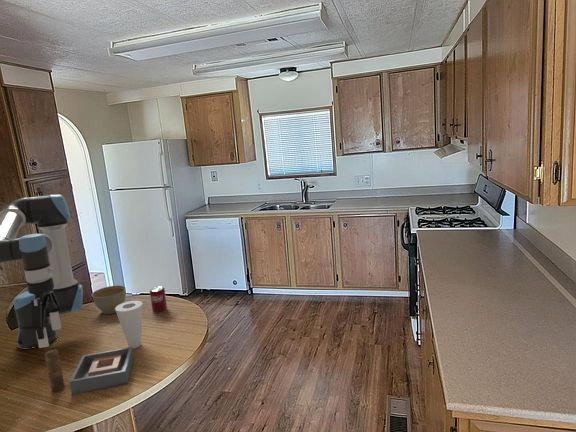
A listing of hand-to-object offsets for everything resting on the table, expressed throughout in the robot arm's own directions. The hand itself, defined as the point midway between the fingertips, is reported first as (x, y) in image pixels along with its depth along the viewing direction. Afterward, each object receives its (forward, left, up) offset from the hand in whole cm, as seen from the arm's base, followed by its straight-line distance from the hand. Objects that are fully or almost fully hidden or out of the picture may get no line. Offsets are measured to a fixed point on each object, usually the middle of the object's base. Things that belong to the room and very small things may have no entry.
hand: (50, 337), depth 137 cm
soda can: (+30, +56, -19) cm, 67 cm away
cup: (+22, +22, -19) cm, 37 cm away
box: (+14, +2, -19) cm, 24 cm away
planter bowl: (+5, +67, -19) cm, 70 cm away
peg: (-1, -1, -19) cm, 19 cm away
